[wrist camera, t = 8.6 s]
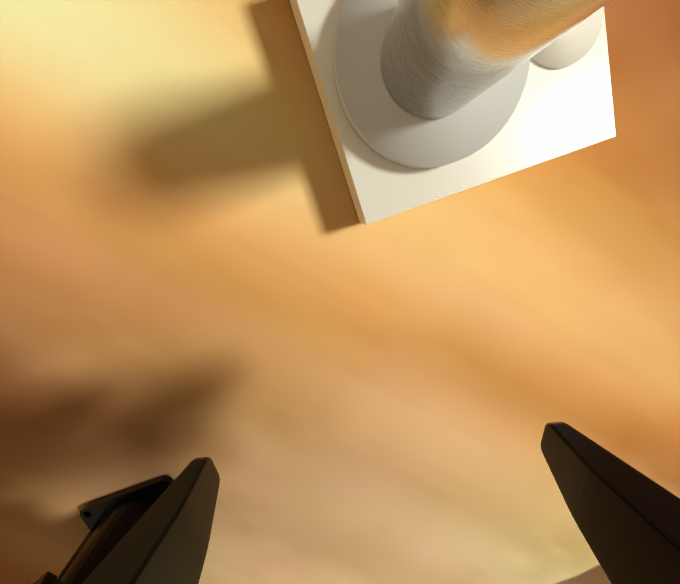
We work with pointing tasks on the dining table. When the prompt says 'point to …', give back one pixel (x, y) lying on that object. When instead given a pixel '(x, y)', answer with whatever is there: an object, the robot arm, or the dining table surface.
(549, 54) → the scale
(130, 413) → the dining table surface
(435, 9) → the shiny silver cylinder
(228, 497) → the dining table surface
